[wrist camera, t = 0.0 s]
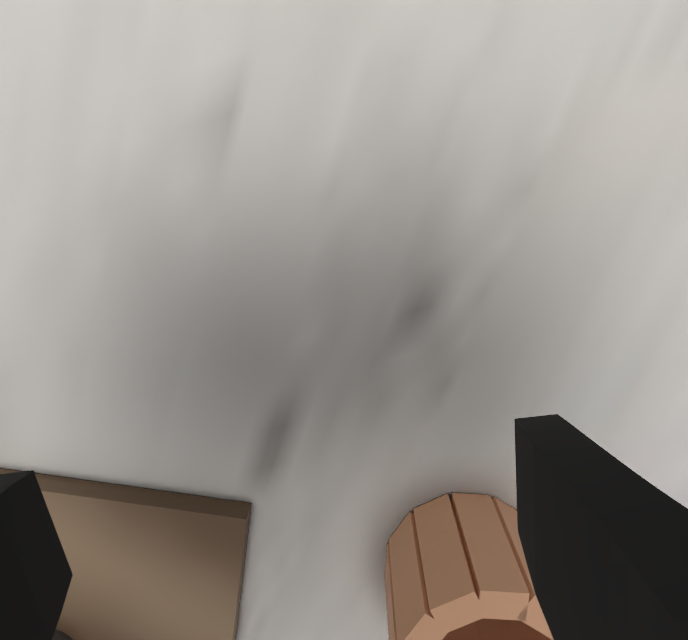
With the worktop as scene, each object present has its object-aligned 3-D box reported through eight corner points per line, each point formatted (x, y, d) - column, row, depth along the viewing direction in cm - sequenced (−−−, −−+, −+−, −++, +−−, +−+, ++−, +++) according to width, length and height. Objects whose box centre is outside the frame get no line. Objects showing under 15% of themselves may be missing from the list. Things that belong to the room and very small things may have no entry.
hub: (480, 655, 23) (514, 790, 18) (356, 582, 22) (355, 700, 17) (572, 545, 22) (635, 656, 17) (444, 465, 21) (470, 556, 16)
